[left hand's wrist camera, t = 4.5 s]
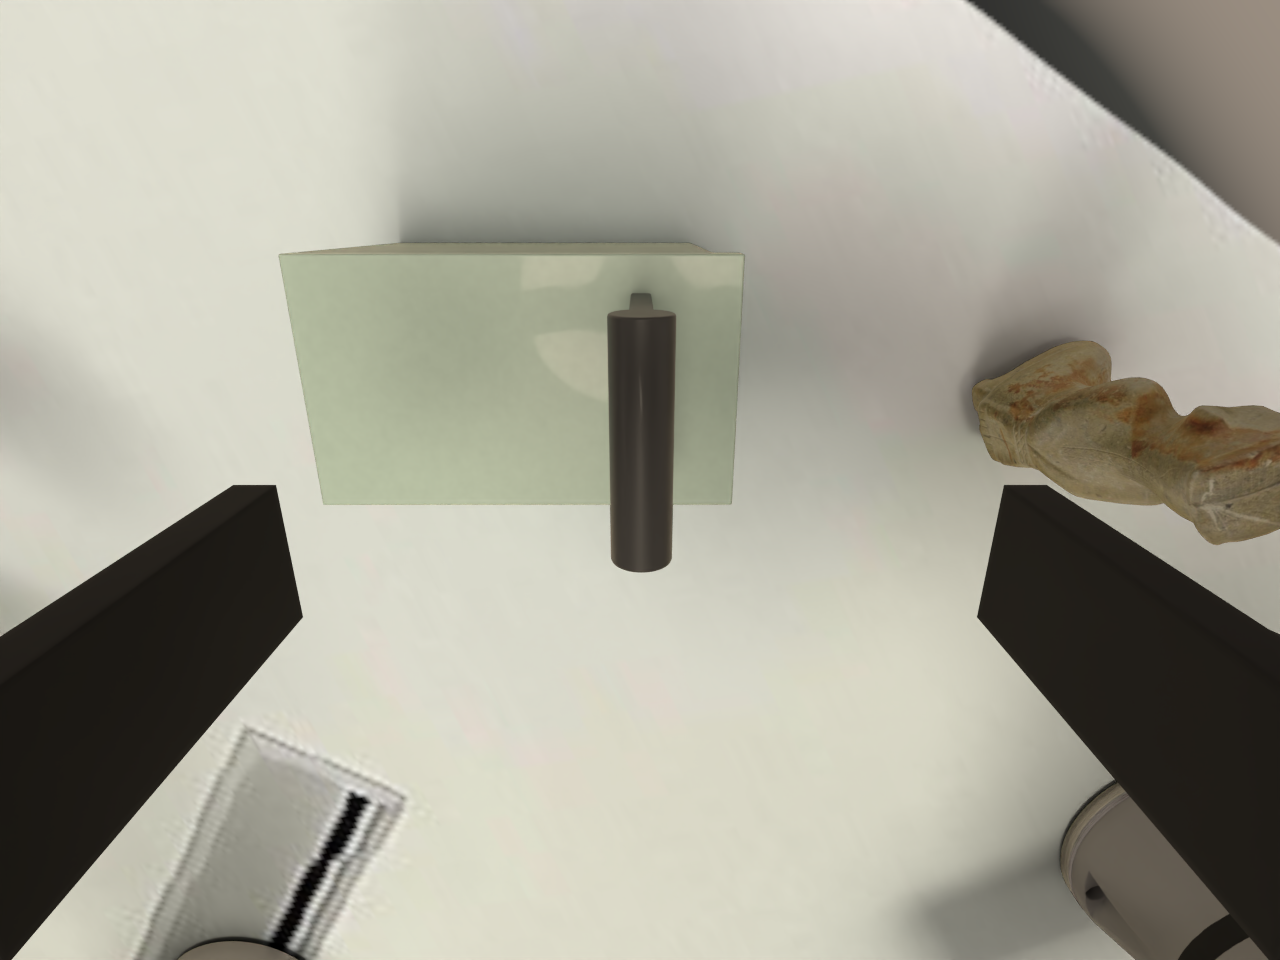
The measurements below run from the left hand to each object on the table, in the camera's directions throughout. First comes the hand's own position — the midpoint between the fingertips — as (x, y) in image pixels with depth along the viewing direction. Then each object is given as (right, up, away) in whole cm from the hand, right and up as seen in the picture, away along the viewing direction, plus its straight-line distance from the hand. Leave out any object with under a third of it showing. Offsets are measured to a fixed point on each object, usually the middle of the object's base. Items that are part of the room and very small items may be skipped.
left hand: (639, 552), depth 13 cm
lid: (-4, +5, +13) cm, 15 cm away
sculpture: (+21, +6, +25) cm, 33 cm away
